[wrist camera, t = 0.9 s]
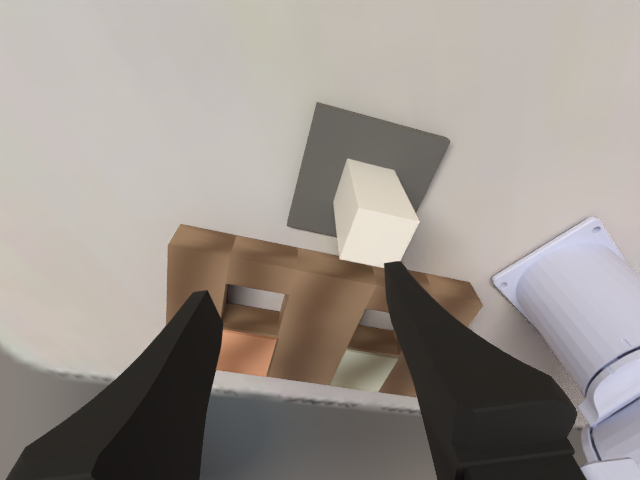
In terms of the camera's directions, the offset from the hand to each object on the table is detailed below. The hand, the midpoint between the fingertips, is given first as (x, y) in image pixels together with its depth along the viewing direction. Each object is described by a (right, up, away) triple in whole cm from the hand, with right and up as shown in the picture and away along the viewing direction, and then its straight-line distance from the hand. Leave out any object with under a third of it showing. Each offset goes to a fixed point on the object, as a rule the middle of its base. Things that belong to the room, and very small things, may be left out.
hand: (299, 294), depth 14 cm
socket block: (0, -4, +14) cm, 15 cm away
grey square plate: (+3, +6, +8) cm, 10 cm away
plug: (+3, +6, +7) cm, 10 cm away
